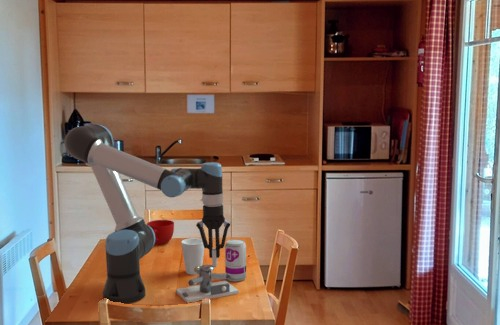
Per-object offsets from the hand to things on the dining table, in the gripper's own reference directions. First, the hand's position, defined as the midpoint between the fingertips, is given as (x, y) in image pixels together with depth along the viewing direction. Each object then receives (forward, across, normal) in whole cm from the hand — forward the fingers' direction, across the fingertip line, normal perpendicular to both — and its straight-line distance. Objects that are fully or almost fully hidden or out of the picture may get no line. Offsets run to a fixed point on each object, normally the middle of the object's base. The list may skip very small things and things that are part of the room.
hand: (214, 265), depth 213 cm
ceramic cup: (+8, +34, -57) cm, 66 cm away
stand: (+9, +2, +5) cm, 10 cm away
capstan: (+7, +4, +5) cm, 9 cm away
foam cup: (+9, +11, -18) cm, 23 cm away
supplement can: (+9, -7, -11) cm, 15 cm away
